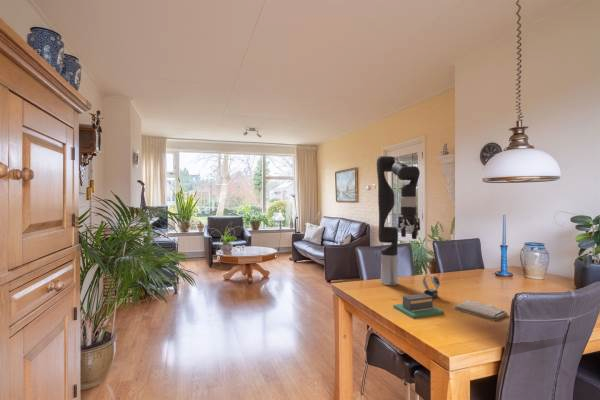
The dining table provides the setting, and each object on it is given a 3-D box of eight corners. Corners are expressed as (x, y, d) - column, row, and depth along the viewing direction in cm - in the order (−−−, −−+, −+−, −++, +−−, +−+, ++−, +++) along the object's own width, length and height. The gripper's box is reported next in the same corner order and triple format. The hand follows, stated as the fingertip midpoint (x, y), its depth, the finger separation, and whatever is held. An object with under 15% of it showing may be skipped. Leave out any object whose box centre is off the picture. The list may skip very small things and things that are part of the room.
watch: (436, 299, 158) (436, 277, 157) (421, 296, 163) (420, 274, 163) (441, 297, 161) (441, 275, 161) (426, 293, 167) (426, 272, 167)
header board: (393, 307, 148) (393, 297, 147) (422, 303, 152) (422, 293, 152) (412, 318, 134) (412, 307, 134) (443, 313, 139) (443, 303, 139)
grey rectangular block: (409, 311, 139) (409, 299, 139) (402, 307, 144) (402, 296, 144) (432, 307, 143) (432, 296, 143) (425, 304, 148) (425, 293, 148)
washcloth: (496, 323, 130) (496, 315, 130) (453, 310, 145) (453, 303, 144) (508, 316, 137) (508, 309, 137) (466, 304, 151) (466, 298, 151)
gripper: (393, 205, 167) (394, 236, 167) (411, 206, 153) (411, 240, 154) (406, 205, 169) (406, 235, 169) (424, 206, 156) (424, 239, 156)
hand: (408, 237), depth 162 cm, fingers open, 8 cm apart
